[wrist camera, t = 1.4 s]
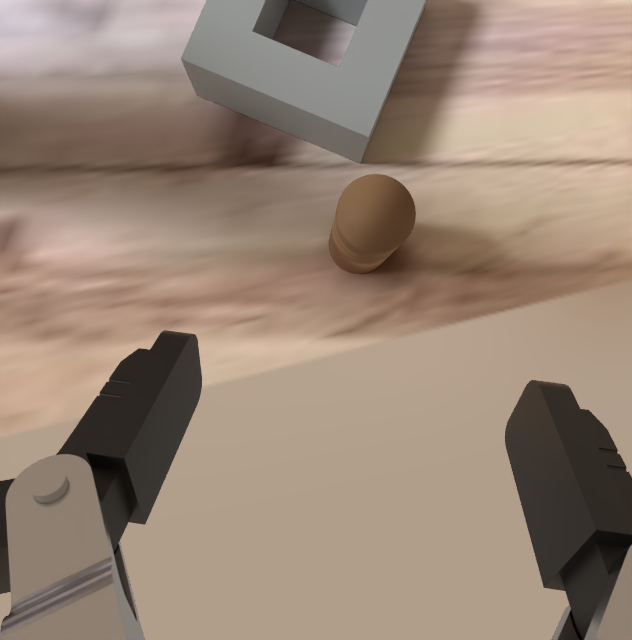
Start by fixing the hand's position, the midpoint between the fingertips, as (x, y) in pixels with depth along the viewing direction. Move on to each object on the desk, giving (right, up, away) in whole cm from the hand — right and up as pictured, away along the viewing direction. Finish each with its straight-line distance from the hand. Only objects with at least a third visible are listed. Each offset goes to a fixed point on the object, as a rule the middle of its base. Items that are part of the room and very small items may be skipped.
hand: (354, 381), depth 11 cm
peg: (+3, +8, +27) cm, 28 cm away
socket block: (-1, +25, +27) cm, 37 cm away
